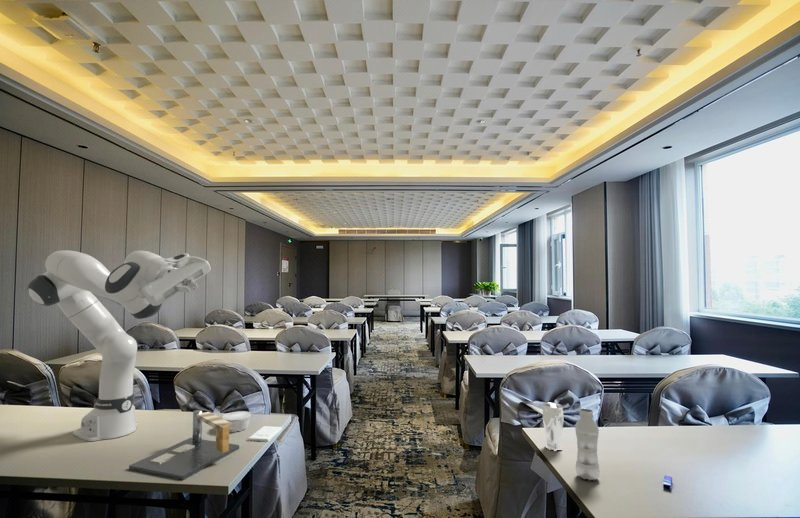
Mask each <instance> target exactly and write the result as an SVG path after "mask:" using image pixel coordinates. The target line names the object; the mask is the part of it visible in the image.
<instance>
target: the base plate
mask: <svg viewBox="0 0 800 518" xmlns="http://www.w3.org/2000/svg"><path fill="white" fill-rule="evenodd" d="M201 413H203V410H202V409H196V410H193V411H192V437H189V438H186V439H183V440H182V441H180V442H178V443H176V444H174V445H171V446H169V447H167V448H164V449H162V450H160V451H158V452H156V453H154V454H152V455H149V456H147V457H145V458H143V459H141V460H139V461H136V462H134V463H132V464H129V466H128V470H131V471H135V472H140V473H146V474H149V473H151V474H150V475H154V476H160V477H166V478H171V479H175V480H180V481H185V480H186V479H188V478H190V477H191V476H193V475H195V474H197V473H198V472H200V471H202V470H203V469H205V468H207V467H210V466H211V465H213V464H215V463H217V462H218V461H220V460H221V459H223V458H225V457H227V456H229V455H230V454H232V453H234V452H236V451H237V450H239V449H240V444H234V443H229V451H227V452H224V453H222V452H220V451H218V450H217V449H216V440H209V439H202V437H203V436H202V435H203V422H202V421H201V420H199V419H197V414H201Z"/></svg>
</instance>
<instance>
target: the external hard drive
mask: <svg viewBox="0 0 800 518" xmlns="http://www.w3.org/2000/svg"><path fill="white" fill-rule="evenodd" d="M282 430H283V427H282V426H269V425H268V426H267V425H264V426H261V428H260V429H258V430H257V431H255V432H254V433H253V434H252V435H250V436H249V437H248V438H247V441H248V440H249V441H248V442H263V441H264V442H267V443H269V442H270V441H271V440H272V439H273V438H274V437H276V436H277V435H278V434H279V433H280V432H282ZM250 440H252V441H250ZM254 440H255V441H254Z"/></svg>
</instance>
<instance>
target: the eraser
mask: <svg viewBox="0 0 800 518" xmlns="http://www.w3.org/2000/svg"><path fill="white" fill-rule="evenodd" d="M664 485H665V486H669V491H670V490H671V491H672V488H673V487H672V485H673V477H672V476H670V475H664V477H663V482H662V488H664V489H665V487H664Z"/></svg>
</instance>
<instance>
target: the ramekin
mask: <svg viewBox="0 0 800 518" xmlns="http://www.w3.org/2000/svg"><path fill="white" fill-rule="evenodd" d="M251 416H252V414H251V412H249V411H244V410H243V411H242V410H241V411H239V410H238V411H232V412H228V413H226V414H225V413H224V414H223V415H222V416H221V418H222V419H225V420H227V421H229V422H231V423H233V428H232V429H229V433H238V432H237V431H239V432H242V430H243V431H245V430H246V428H247V429H248V427H249V426H250V422H251ZM244 429H245V430H244Z"/></svg>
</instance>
